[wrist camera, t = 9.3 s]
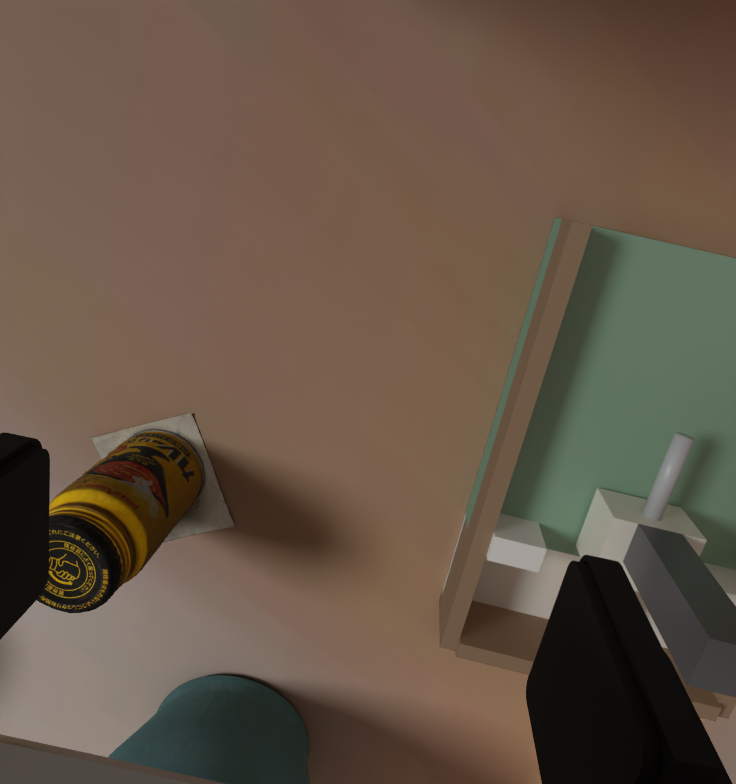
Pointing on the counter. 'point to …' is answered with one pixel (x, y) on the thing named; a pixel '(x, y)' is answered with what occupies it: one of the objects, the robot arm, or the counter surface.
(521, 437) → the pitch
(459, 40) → the counter surface
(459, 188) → the counter surface
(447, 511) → the counter surface
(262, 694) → the flower pot
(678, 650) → the striker
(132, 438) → the condiment
